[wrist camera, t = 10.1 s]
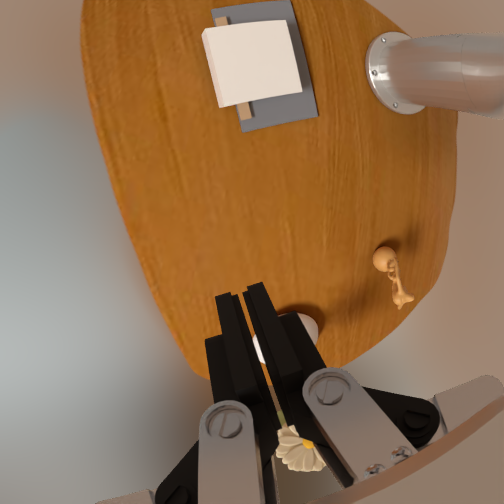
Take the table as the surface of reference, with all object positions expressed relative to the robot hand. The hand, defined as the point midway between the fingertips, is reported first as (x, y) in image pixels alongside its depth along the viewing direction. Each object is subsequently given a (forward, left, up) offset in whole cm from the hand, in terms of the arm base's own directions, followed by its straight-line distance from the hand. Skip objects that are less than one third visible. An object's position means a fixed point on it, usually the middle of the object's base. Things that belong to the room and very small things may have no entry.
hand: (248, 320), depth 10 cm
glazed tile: (-4, -11, -24) cm, 27 cm away
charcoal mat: (-11, -11, -27) cm, 31 cm away
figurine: (-22, +20, -27) cm, 40 cm away
